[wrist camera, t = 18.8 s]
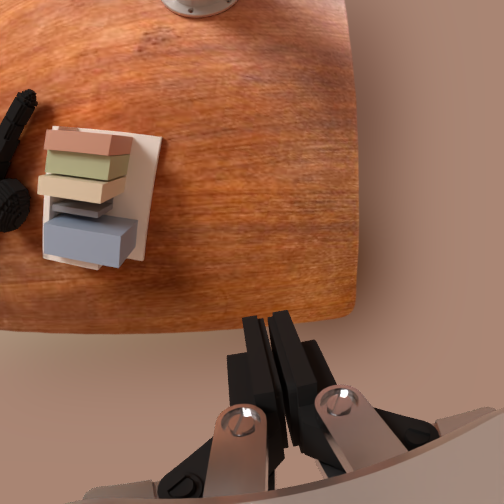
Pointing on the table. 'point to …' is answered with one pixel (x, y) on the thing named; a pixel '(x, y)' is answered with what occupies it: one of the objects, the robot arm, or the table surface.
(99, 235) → the grey block
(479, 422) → the robot arm
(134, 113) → the table surface
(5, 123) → the toy
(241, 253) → the table surface
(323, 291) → the table surface
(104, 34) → the table surface
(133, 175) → the shelf
